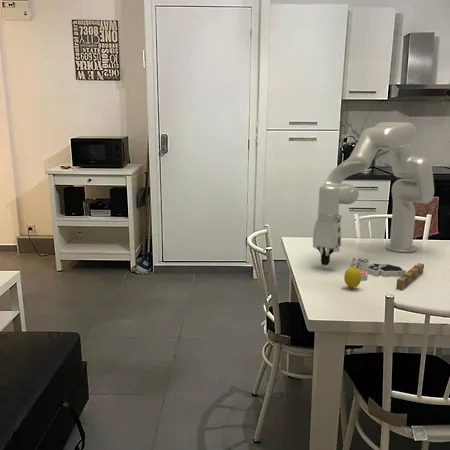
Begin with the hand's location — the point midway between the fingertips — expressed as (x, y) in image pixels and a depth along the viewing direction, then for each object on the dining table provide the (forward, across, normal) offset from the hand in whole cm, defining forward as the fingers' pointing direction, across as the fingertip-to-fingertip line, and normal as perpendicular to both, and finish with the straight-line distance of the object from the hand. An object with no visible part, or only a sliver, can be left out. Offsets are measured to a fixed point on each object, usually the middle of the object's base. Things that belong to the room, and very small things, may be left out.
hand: (325, 264), depth 177 cm
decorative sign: (+3, -18, -8) cm, 20 cm away
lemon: (+2, -17, +14) cm, 22 cm away
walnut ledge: (+2, -30, -7) cm, 31 cm away
